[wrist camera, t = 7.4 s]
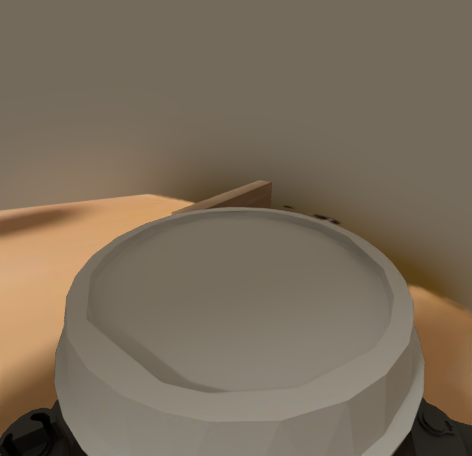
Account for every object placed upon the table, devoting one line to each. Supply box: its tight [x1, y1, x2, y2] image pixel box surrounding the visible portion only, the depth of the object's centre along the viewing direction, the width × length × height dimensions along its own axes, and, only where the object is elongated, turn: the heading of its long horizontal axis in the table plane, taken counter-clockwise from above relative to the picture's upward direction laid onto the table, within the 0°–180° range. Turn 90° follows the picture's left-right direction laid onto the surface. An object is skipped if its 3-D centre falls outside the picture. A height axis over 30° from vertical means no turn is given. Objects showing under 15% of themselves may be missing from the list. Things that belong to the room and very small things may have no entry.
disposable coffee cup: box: [54, 207, 424, 456], centre depth 10 cm, size 10×10×12 cm
